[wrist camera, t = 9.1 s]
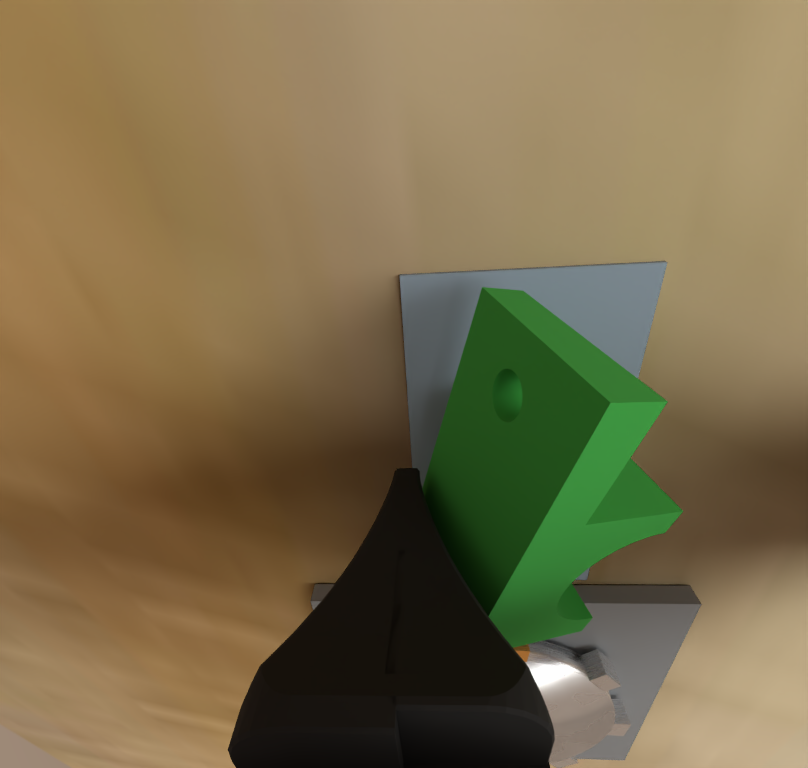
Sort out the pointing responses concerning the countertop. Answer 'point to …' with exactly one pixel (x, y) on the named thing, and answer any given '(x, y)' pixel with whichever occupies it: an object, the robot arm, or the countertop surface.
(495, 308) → the pipe clamp
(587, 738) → the sprocket
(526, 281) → the mat
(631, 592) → the mount plate
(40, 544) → the countertop surface
